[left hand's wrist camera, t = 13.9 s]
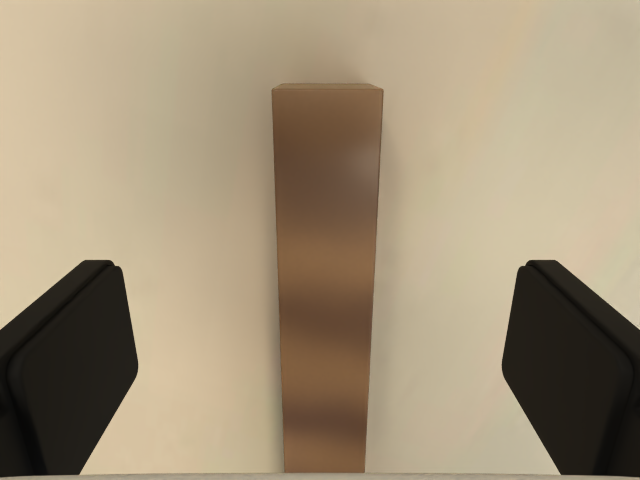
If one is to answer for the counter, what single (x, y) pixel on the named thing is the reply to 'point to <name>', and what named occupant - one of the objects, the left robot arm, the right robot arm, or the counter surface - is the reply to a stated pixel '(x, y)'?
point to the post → (326, 267)
